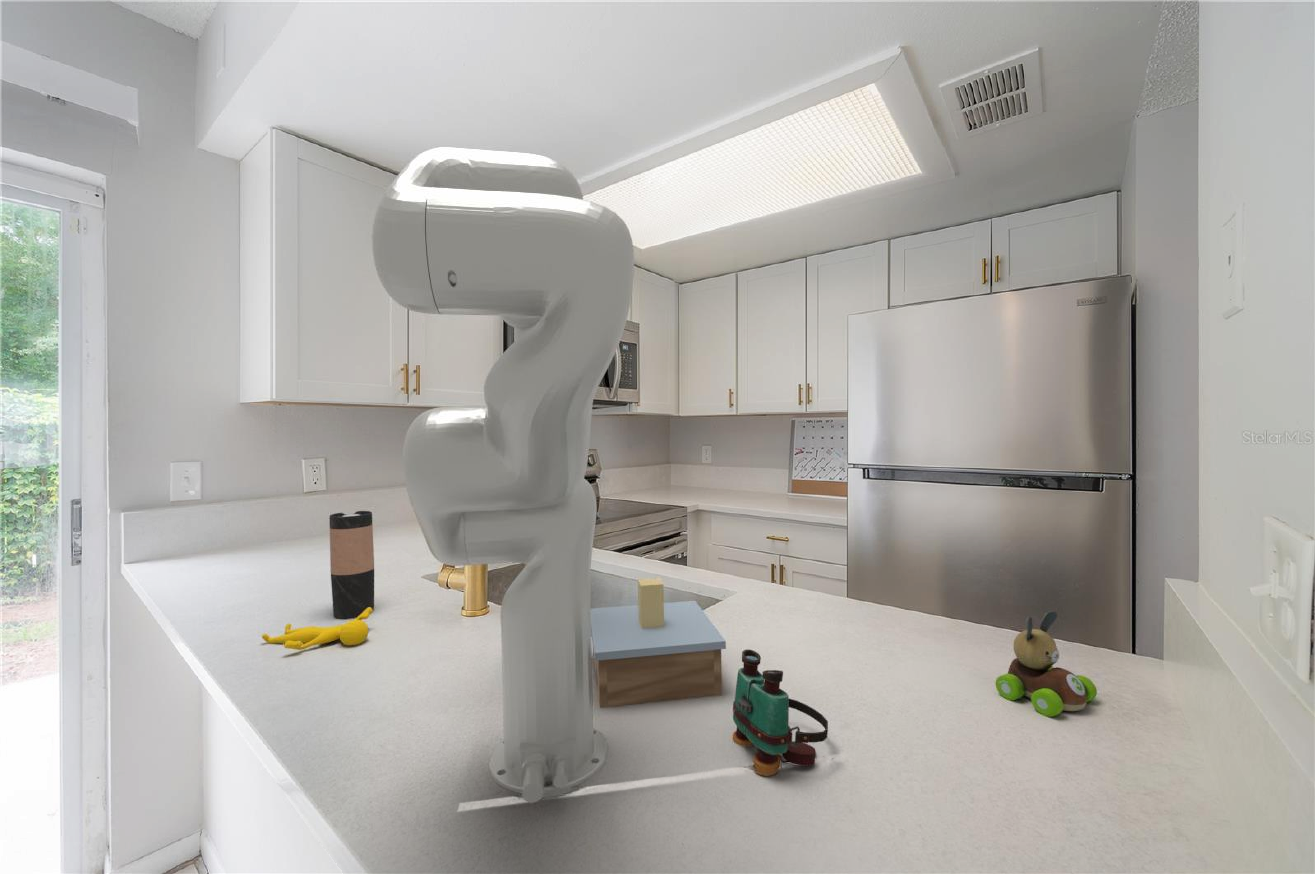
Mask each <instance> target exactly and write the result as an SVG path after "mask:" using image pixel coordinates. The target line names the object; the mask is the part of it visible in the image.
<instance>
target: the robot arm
mask: <svg viewBox="0 0 1315 874" xmlns="http://www.w3.org/2000/svg"><path fill="white" fill-rule="evenodd" d="M375 211H376V212H375V214H374V215H375V216H374V219H373V224H372V234H371V235H372V236H371V241H372V243H371V244H372V248H371V249H372V255H373V263H374V267H375V270H376V273H377V276H378V279H379V282H380V283H381V284H382V287H383V288H384V290H385V292H387V294H388V296H389V297H390V298H391V299H392V300H393V301H395V302H396V304H398V305H400V306H401V307H403V308H405V309H407V310H409V311H412V312H415V313H421V314H428V315H431V314H432V315H448V316H449V315H450V316H451V315H452V316H453V315H458V316H461V315H462V316H500V317H501V319H502V321H504V322H505V323H506V324H507V325H509V326H510V327H513V334H514V335H513V340H514V342H513V343H512V344H510V346H509V347H508V348H507V349H506V350H505V351H504V352H503V353H502V354H501V355H500V357H499V358H498V359H497V361H496V362H495V363H494V364H493V366H492V367H491V368H490V370H489V372H488V374H487V375H486V378H485V381H484V386H483V395H484V396H483V398H484V402H485V403H484V404H485V405H451V406H440V407H434V408H431V409H428V410H426V411H424V412H422V413H420V414H419V415H418V416H417V417H415V419H413V421H412V423H410V426H409V427H408V429H407V431H406V435H405V437H404V444H403V447H402V449H403V450H402V470H403V471H402V472H403V478H404V484H405V488H406V492H407V496H408V500H409V502H410V504H411V507H412V509H413V513H414V515H415V517H416V520H417V522H418V524H419V528H420V530H421V531H422V534H423V537H424V539H425V543H426V545H427V547H428V549H429V551H430V553H431V555H432V556H433V557H434V558H435V559H436V560H437V561H438V562H439V563H442V564H444V565H446V566H455V567H456V566H458V567H460V566H461V567H462V566H477V565H478V566H479V565H480V566H481V565H492V564H506V563H507V564H508V563H509V564H510V563H512V564H524V567H523V569H522V570H521V571H520V573H519V574H518V575H517V576H516V578H515V579H514V580H513V581H512V583H511V584H510V586H509V587H508V588H507V590H506V592H505V594H504V596H503V599H502V602H501V607H500V632H501V633H500V636H501V640H500V642H501V669H502V670H501V671H502V673H501V675H502V705H503V707H502V711H503V715H502V716H503V739H502V740H501V741H500V742H498V744H497V746H495V748H494V749H493V750H492V753H491V755H490V757H489V762H488V763H489V764H488V766H489V767H488V769H489V773H490V775H491V777H492V779H493V780H494V781H495V782H496V783H497V784H498V785H499V786H501V787H503V788H504V789H507V790H508V791H512V792H515V793H521V794H517V795H514V797H516V798H519V799H520V798H521V799H523V800H524V801H525V802H527V803H529V804H534V803H537V802H538V801H540V800H541V799H550V798H551V799H552V798H557V797H561V796H563V795H567V794H571V793H573V792H574V791H578V790H580V789H581V788H583V786H579V787H576V786H578V785H580V784H582V783H584V782H586V781H588V780H589V779H590V778H592V777H593V776H595V775H596V774H597V773H598V772H599V771H600V769H602V767H603V766H604V764H605V763H606V761H607V758H608V755H609V745H608V744H609V743H608V742H607V739H606V737H605V736H604V735H603V733H602V732H601V731H599V730H598V729H597V728H595V727H594V704H593V702H594V701H593V700H594V699H593V696H594V695H593V663H592V662H593V661H592V660H593V659H592V657H593V656H592V654H593V650H592V634H591V609H592V607H591V577H592V576H591V573H592V572H591V570H592V556H593V546H594V538H595V530H596V522H597V509H598V508H597V496H596V494H595V490H594V488H593V486H592V485H591V483H590V482H589V481H588V480H587V479H585V476H586V471H587V468H588V467H587V466H588V461H589V459H588V458H589V449H590V442H591V441H590V439H591V427H592V423H591V422H592V412H593V403H594V399H595V396H596V393H597V390H598V388H599V385H600V384H601V381H602V380H603V378H604V376H605V374H606V372H607V370H608V369H609V366H610V365H611V364H612V363H611V362H612V361H613V360H614V359H613V358H614V357H615V355H616V351H617V349H618V347H619V345H620V342H621V339H622V337H623V334H624V331H625V327H626V324H627V320H628V316H629V312H630V308H631V302H632V301H631V300H632V295H633V288H634V276H635V275H634V274H635V253H634V244H633V238H632V235H631V232H630V229H629V227H628V226H627V224H626V222H625V221H624V220H623V219H622V217H620V216H619V215H618V214H617V212H614V211H613V210H612V209H610V208H608V207H607V206H604V205H602V204H599V203H596V202H593V201H590V200H586V199H584V196H583V193H582V188H581V186H580V184H579V182H578V180H577V178H576V177H575V176H574V174H573V173H572V172H571V171H570V170H569V168H567V167H566V166H564V165H563V164H562V163H560V162H558V161H556V160H555V159H553V158H551V157H549V156H544V155H540V154H533V153H527V152H526V153H525V152H514V151H499V150H489V149H487V150H485V149H477V148H463V147H447V146H446V147H445V146H443V147H434V148H430V149H428V150H425V151H423V152H420V153H419V154H417V155H416V156H414V157H413V158H412V159H411V160H410V161H408V163H407V164H406V165H405V166H404V167H403V168H402V169H401V171H400V172H399V173H398V174H397V176H396V177H395V178H394V180H393V181H392V182H391V183H390V184H389V186H388V187H387V188H386V190H385V191H384V193H383V194H382V196H381V198H380V201H379V202H378V206H377V208H376V210H375Z"/></svg>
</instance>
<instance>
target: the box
mask: <svg viewBox="0 0 1315 874" xmlns="http://www.w3.org/2000/svg"><path fill="white" fill-rule="evenodd" d="M592 654H593V656H592V657H593V664H594V672H595V679H596V686H597V696H598V702H599V708H608V707H609V708H610V707H619V706H629V705H638V704H647V703H649V704H650V703H657V702H667V701H676V700H684V699H685V700H686V699H695V698H704V697H713V696H722V695H723V679H722V678H723V676H722V673H723V672H722V669H723V668H722V649H718V650H707V651H696V652H685V653H674V654H663V655H652V656H641V657H631V658H620V659H609V660H598V661H595V657H594V649H593V648H592Z"/></svg>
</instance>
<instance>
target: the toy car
mask: <svg viewBox="0 0 1315 874" xmlns="http://www.w3.org/2000/svg"><path fill="white" fill-rule="evenodd" d="M1057 617H1058V612H1056V611H1055V610H1050V611H1048V612H1045V614H1044V616H1043V618H1042V619H1041V622H1040V623H1039V629H1035V628H1034V627H1033V626H1034V623H1033V618H1032V617H1031V615H1030V616H1028V617H1027V619H1026V622H1025V626H1026V629H1025V630H1023V631H1021V632H1020V633H1017V635H1016V636H1015V638H1014V641H1013V653H1014V654H1015V657H1016V658H1014V659H1013V660H1012V661H1011V663H1010V664H1009V668H1008V671H1007V673H1005V674H1002V675H999V676H998V677H997V678H996V680H995V687H996V690H997V692H998V694H999V695H1000V696H1002V697H1003V698H1004V699H1006V700H1007V701H1008V700H1009V701H1015V700H1018V699H1021V698H1023V696H1025V697H1027V698H1029V699H1030V701H1031V704H1032V706H1033V708H1034V709H1035V710H1036V711H1037V712H1038V713H1039V714H1040V715H1043V716H1045V717H1048V718H1053V717H1055V716H1058V715H1060V714H1061V713H1062V712H1063V711H1064V712H1077V711H1081V710H1084V708H1085V707H1086V706H1087V702H1090V701H1093V700H1094V699H1096V697H1097V695H1098V691H1097V687H1096V685H1095V683H1094V682H1093V681H1092V680H1091V679H1089V678H1088V677H1086V676H1083V675H1079V674H1078V675H1077V674H1076V675H1075V674H1074V673H1073V672H1071V671H1069V670H1068V669H1065V668H1062V667H1057V666H1056V667H1054V666H1053V665H1055V664H1056V663H1058V661H1059V659H1060V652H1059V650H1058V647H1057V644H1056V642H1055V639H1054V638H1053V637H1052V635H1050V634H1049V633H1048V632H1049V629H1050V627H1051V626H1052V625H1053V624H1054V622H1055V621H1057Z"/></svg>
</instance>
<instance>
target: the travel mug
mask: <svg viewBox="0 0 1315 874" xmlns="http://www.w3.org/2000/svg"><path fill="white" fill-rule="evenodd" d="M329 545H330V546H329V554H330V555H329V556H330V557H329V558H330V559H329V560H330V584H331V585H330V586H331V598H332V599H331V600H332V610H333V612H332V613H333V617H334V619H337V618H339V619H338V620H348V618H352V619H355V617H358V616H359V615H360V614H362V613H363V612H364V611H365V610H366V609H367V608H368V607H371V608H372V610H374V611H375V553H374V551H375V550H374V528H373V512H372V511H369V510H358V511H357V510H356V511H355V512H354V513H350V514H345V513H344V512H337V513H332V514H330V515H329Z"/></svg>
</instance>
